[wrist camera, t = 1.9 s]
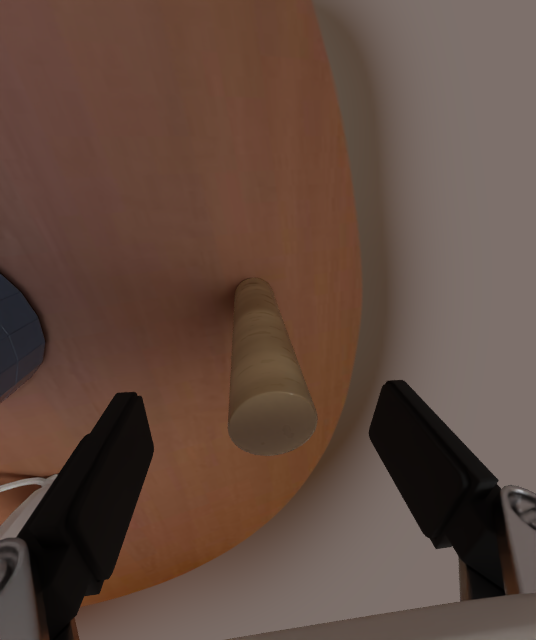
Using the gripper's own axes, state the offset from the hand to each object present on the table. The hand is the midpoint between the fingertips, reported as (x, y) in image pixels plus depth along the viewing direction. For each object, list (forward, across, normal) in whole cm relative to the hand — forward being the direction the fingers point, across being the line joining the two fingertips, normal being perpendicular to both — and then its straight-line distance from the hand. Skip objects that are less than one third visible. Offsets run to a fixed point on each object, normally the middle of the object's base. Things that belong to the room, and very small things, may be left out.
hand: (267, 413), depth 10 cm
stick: (+12, 0, -1) cm, 12 cm away
